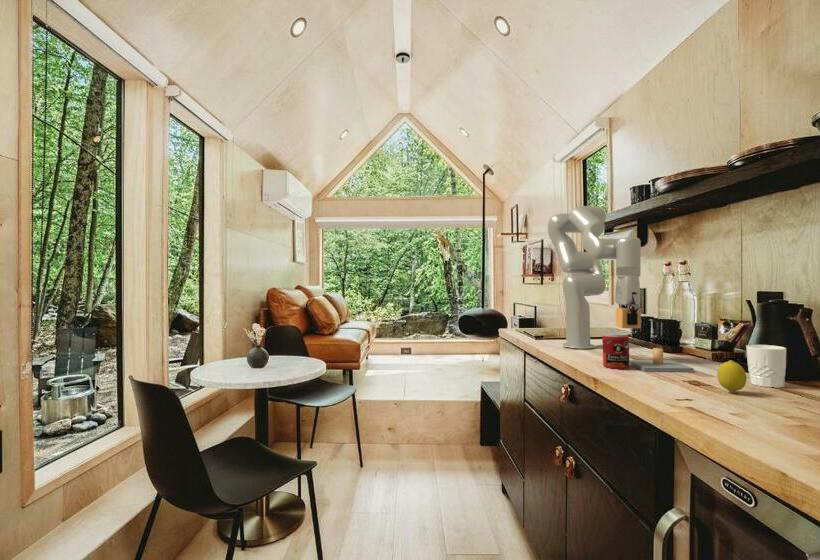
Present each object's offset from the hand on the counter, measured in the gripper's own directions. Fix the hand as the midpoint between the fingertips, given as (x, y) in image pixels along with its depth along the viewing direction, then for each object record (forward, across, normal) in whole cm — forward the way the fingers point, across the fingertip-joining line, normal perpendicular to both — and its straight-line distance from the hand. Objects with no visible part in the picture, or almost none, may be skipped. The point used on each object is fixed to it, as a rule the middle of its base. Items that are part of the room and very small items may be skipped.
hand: (628, 323), depth 140 cm
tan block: (+1, 0, 0) cm, 1 cm away
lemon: (+12, +42, +7) cm, 44 cm away
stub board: (+13, +12, +4) cm, 18 cm away
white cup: (+12, +33, +21) cm, 41 cm away
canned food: (+13, +13, -9) cm, 20 cm away
